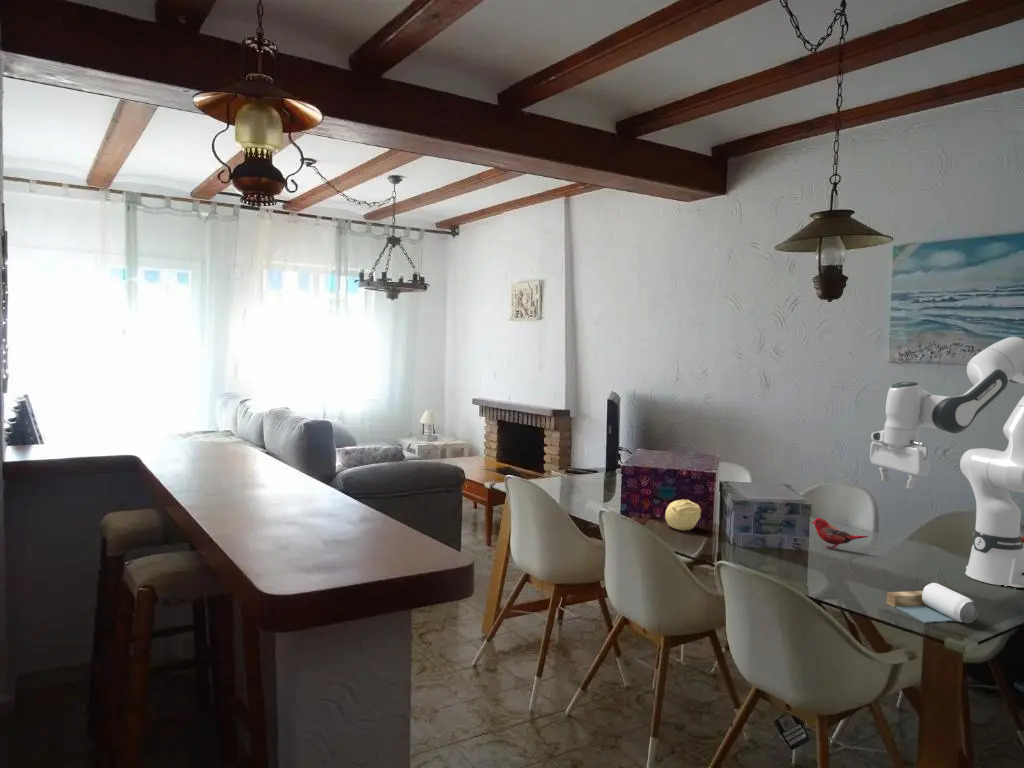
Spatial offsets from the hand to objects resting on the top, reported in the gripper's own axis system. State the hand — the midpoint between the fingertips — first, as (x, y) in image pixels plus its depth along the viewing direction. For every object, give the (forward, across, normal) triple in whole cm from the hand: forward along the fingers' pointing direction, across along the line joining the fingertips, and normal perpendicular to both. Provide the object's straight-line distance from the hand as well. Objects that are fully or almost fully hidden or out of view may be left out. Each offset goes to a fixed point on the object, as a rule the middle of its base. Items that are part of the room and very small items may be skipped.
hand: (897, 485), depth 209 cm
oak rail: (+29, -16, +5) cm, 34 cm away
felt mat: (+29, -23, +7) cm, 38 cm away
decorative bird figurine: (+29, +32, -6) cm, 44 cm away
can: (+26, -18, +3) cm, 31 cm away
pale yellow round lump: (+29, +62, +37) cm, 78 cm away
